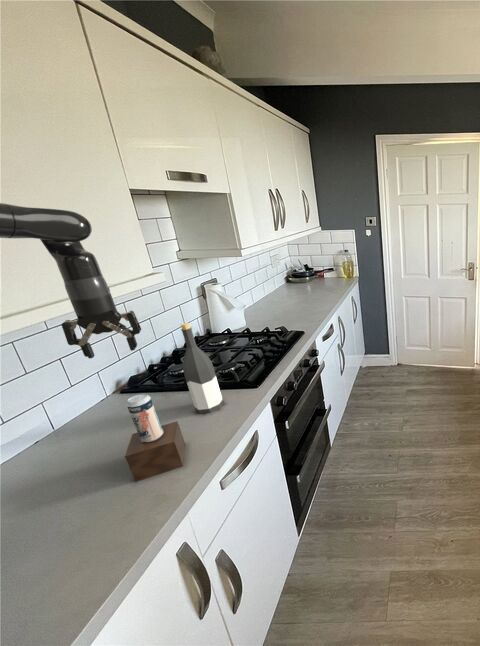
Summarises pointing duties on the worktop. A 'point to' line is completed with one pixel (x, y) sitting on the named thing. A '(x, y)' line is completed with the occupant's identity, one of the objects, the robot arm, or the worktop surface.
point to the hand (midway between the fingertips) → (113, 353)
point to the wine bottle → (200, 375)
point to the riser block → (156, 453)
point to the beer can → (144, 417)
